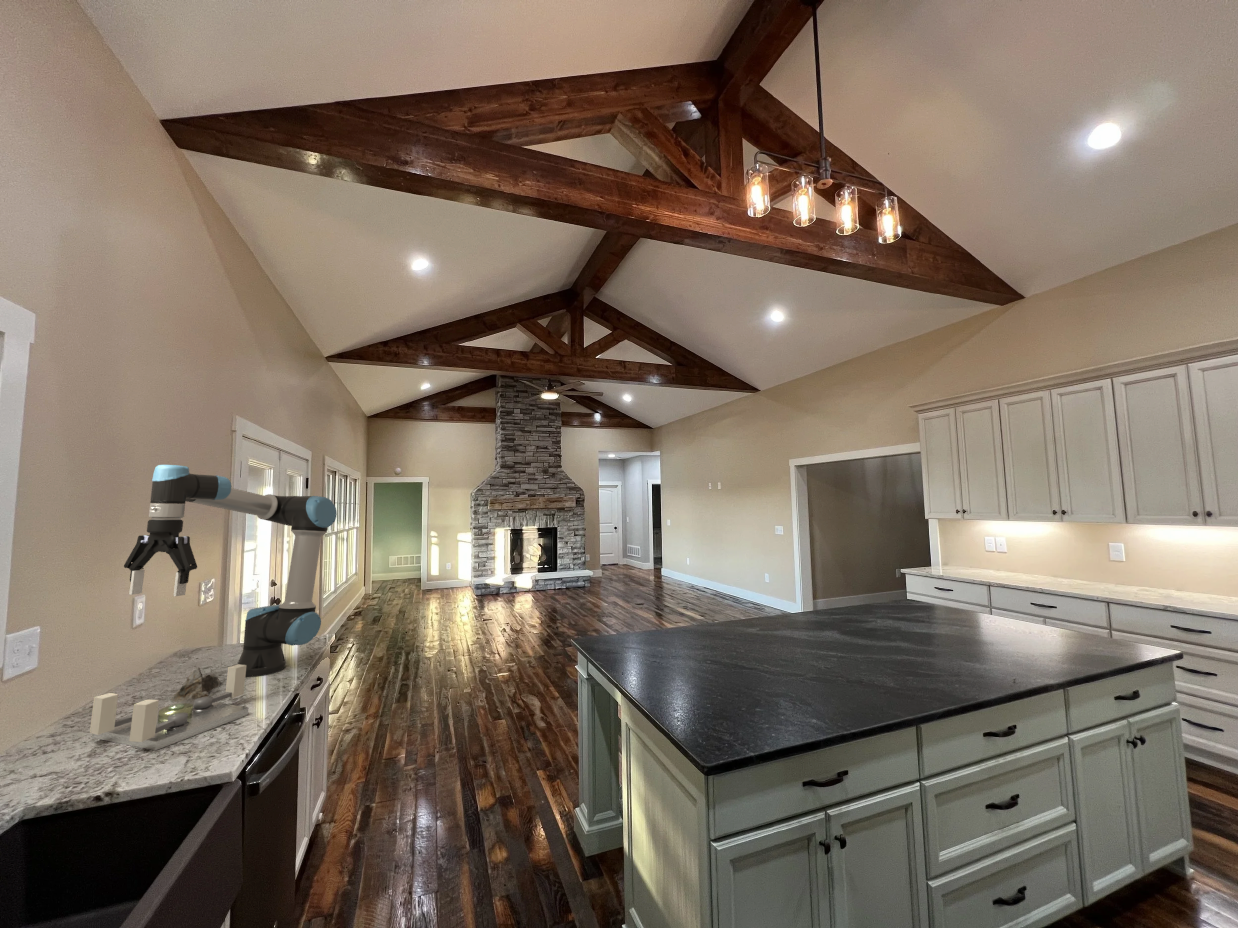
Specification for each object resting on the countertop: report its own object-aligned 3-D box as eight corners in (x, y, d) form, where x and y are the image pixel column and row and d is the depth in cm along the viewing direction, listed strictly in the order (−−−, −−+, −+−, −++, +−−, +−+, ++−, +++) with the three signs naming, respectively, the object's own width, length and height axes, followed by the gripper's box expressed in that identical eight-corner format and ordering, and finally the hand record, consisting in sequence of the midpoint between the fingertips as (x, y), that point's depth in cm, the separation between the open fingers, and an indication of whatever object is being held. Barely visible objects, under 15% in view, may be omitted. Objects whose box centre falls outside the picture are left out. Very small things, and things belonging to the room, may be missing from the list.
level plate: (189, 705, 149) (191, 685, 150) (247, 714, 143) (249, 694, 144) (91, 737, 127) (94, 714, 128) (155, 750, 121) (158, 726, 122)
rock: (203, 699, 152) (194, 668, 153) (163, 715, 149) (154, 683, 150) (233, 684, 169) (225, 656, 170) (198, 698, 166) (190, 669, 167)
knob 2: (177, 719, 132) (180, 686, 133) (191, 720, 132) (194, 687, 133) (127, 741, 120) (132, 704, 121) (143, 741, 120) (147, 704, 121)
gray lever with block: (200, 709, 140) (203, 677, 140) (190, 707, 141) (193, 676, 142) (244, 694, 152) (247, 665, 153) (234, 692, 153) (237, 664, 154)
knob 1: (148, 713, 136) (152, 681, 137) (158, 715, 135) (162, 682, 136) (88, 732, 124) (93, 696, 125) (99, 734, 123) (103, 698, 124)
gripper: (112, 517, 139) (102, 595, 137) (193, 519, 136) (184, 598, 134) (140, 517, 146) (131, 591, 144) (217, 519, 144) (210, 594, 142)
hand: (157, 594), depth 139 cm, fingers open, 13 cm apart
